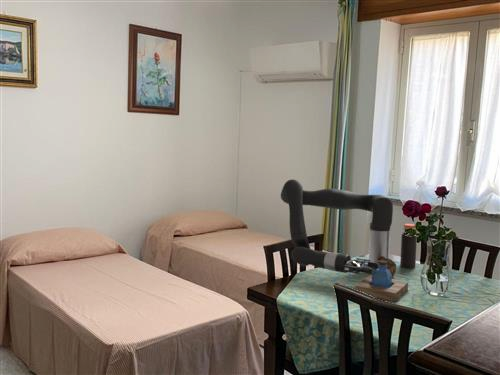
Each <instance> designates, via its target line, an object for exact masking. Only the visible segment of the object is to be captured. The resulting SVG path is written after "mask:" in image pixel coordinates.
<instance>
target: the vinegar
mask: <svg viewBox="0 0 500 375" xmlns="http://www.w3.org/2000/svg"><path fill="white" fill-rule="evenodd" d="M409 228H412V229H414V228H415V229H416V224H414V223H404V224H403V230H404V231H403V233H402V234H401V241H400V267H401V268H403V269H414V268H416V264H417V263H416V261H417V260H416V259H417V243H418V236H412V237H407V236H405V232H406V229H409Z"/></svg>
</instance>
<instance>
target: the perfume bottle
mask: <svg viewBox="0 0 500 375" xmlns="http://www.w3.org/2000/svg"><path fill="white" fill-rule="evenodd" d="M386 263H387V261H383V260H381V261H379V264H378V267H379V268H378V269H377V270H375V271H374V273H372V275H371V276H372V285H374V286H379V287H384V288H390V287H391V286H392V279H393V276H392V274H391V272H390V271H389V269H386V268H387V264H386Z"/></svg>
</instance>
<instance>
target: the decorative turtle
mask: <svg viewBox="0 0 500 375" xmlns="http://www.w3.org/2000/svg"><path fill="white" fill-rule="evenodd" d="M381 260H383V261H387V263H386V264H387V268H386V269H389V271H390V272H391V274H392V277H394V276H395V274H396V270H397V267H398V266H397V264H396V262H395V261H394V260H392V259H391V258H389V259H388V258H385V257H384V256H379V257H378V258H377V261H376V262H375V263H379V261H381ZM374 270H375V271H376V270H377V269H375V268H374Z"/></svg>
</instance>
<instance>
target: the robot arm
mask: <svg viewBox="0 0 500 375" xmlns="http://www.w3.org/2000/svg"><path fill="white" fill-rule="evenodd" d="M280 199H281V200H282V202H284V203H285V204H287V205H288V208H289V234H290V240H291V243H292V245H293V246H294V248H293V249H292V250H291V254H290V256H291V260H292V261H293V262H294V263H297V264H298V265H300V266H302V267H307V266H309V265H310V266H313V267H315V268H319V269H324V270H328V271H332V272H337V273H343V274H347V273H352V274H356V275H359V274H362V273H363V274H368V275H371V274H373V269H374V270H375V269H378V268H379V267H378V264H379V263H375V262H376V261H377V258H378V257H379V256H384V257H385V258H388V259H390V241H391V240H390V239H391V238H390V237H391V225H393V224H392V223H393V212H394V205H393V201H392V200H391V199H390V198H389V197H388V196H385V195H383V194H369V193H367V194H365V193H364V194H363V193H359V192H358V193H357V192H354V191H349V190H345V189H338V188H323V189H318V190H304V189H303V186H302V183H301V182H300V181H299V180H296V179H289V180H287V181H285V183H284V184H283V187H282V189H281V192H280ZM304 206H313V207H319V208H328V209H334V210H342V211H343V210H346V211H347V210H362V211H367V212H369V213H370V212H371V213H372V219H371V222H370V223H369V240H368V242H369V243H368V244H369V245H368V258H367V259H366V258H360V257H356V259H352V258H351V256H350V255H349V254H346V253H345V254H344V253H339V252H330V251H329V252H328V251H323V250H315V249H313V248H311V246H310V243H309V241H308V236H307V228H306V224H305V216H304V214H305V213H304Z"/></svg>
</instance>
